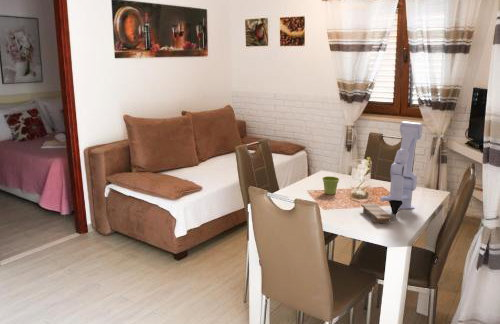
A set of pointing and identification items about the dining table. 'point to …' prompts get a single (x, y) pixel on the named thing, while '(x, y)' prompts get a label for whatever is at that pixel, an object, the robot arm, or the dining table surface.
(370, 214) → the walnut shelf
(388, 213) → the grey shell
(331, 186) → the plant pot
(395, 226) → the dining table surface
